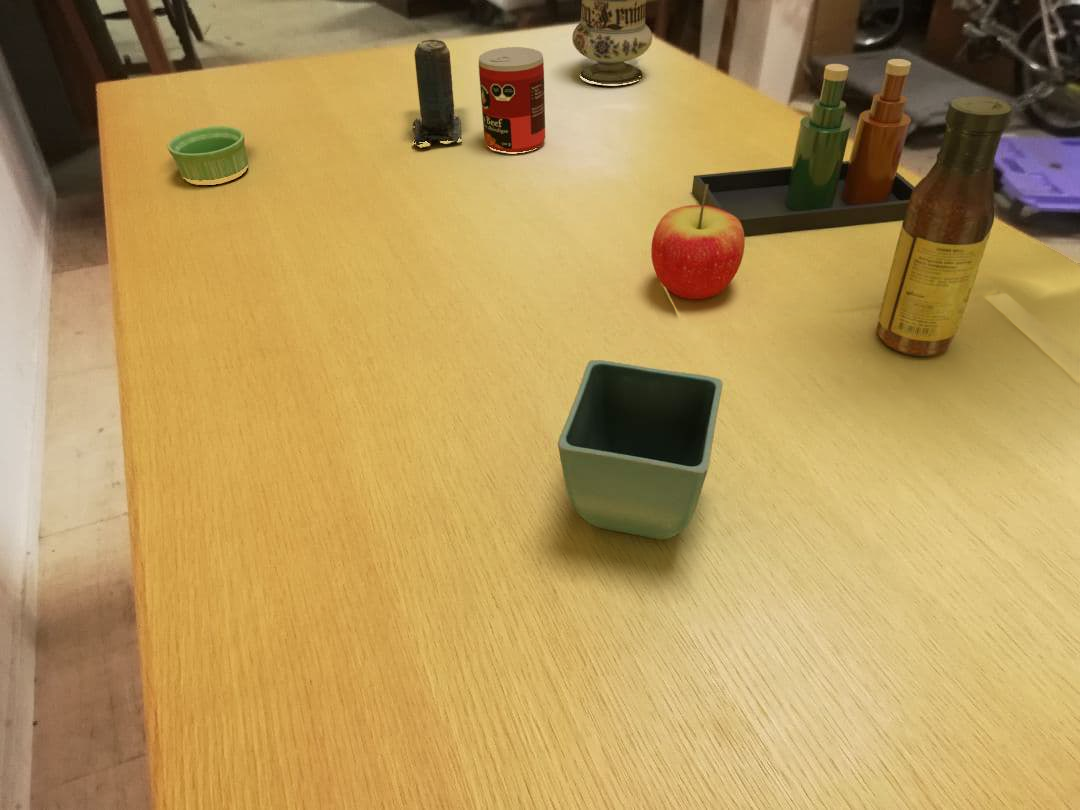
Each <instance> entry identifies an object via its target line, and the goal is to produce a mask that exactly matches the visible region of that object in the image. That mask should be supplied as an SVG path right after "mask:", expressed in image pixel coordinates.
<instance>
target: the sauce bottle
mask: <svg viewBox="0 0 1080 810" xmlns="http://www.w3.org/2000/svg"><path fill="white" fill-rule="evenodd" d="M1012 113H1013V109H1012V106H1011V105H1010V104H1009V103H1008V102H1006V101H1004V100H1003V99H998V98H994V97H988V96H980V95H979V96H978V95H977V96H976V95H974V96H973V95H972V96H970V95H969V96H960V97H957V98H955V99H953V100H952V101H950V103H949V105H948V109H947V112H946V115H945V117H944V119H945V131H944V134H943V138H942V142H941V145H940V149H939V151H938V152H937V154H936V161H935V163H934V164H933V166H932V167H931V168H930V169H929V171H928V173H926V176H924V177H923V178H922V179H921V180H920V181H918V183H917V184H916V185H915V186H914V187H915V188H914V189H913V191H912V194H911V197H910V200H909V205H908V210H907V213H906V217H905V219H904V220H903V221H902V223H901V227H900V231H899V236H898V239H897V243H896V247H895V251H894V254H893V259H892V263H891V268H890V271H889V275H888V278H887V282H886V286H885V290H884V292H883V293H884V294H883V298H882V301H881V304H880V310H879V313H878V322H877V326H876V332H877V335H878V337H879V338H880V339H881V341H882V342H883V343H884V344H885V345H886V346H887V347H888V348H890V349H893V350H894V351H896V352H899V353H902V354H905V355H907V356H912V357H913V356H914V357H915V356H916V357H923V358H924V357H930V356H936V355H939V354H942V353H943V352H945V351H947V350H948V349H949V347H950V345H951V343H952V341H953V339H954V337H955V335H956V333H957V332H958V330H959V327H960V326H961V325H960V324H961V322H962V319H963V316H964V313H965V310H966V307H967V304H968V302H969V298H970V295H971V292H972V289H973V286H974V283H975V280H976V277H977V274H978V272H979V267H980V266H981V265H980V264H981V261H982V259H983V257H984V253H985V250H986V246H987V243H988V240H989V238H990V235H991V231H992V228H993V225H994V221H995V187H994V185H995V184H994V181H995V180H994V165H995V158H996V155H997V151H998V148H999V145H1000V142H1001V139H1002V136H1003V133H1004V131H1006V129H1007V128H1008V127H1009V125H1010V122H1011V116H1012Z"/></svg>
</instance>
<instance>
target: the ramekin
mask: <svg viewBox="0 0 1080 810" xmlns="http://www.w3.org/2000/svg"><path fill="white" fill-rule="evenodd" d="M166 145H167V150H168V153H169V154H170V155H171V156H172V158H173V160H174V163H175V166H176V167H177V169H178V171H179V174H180V176H181V175H182V176H183V177H185V178H187V179H190V180H199V181H202V180H215V179H220V178H224V177H228V176H231V175H233V174H236V173H238V172H240V171H241V170H243V169H244V168H245V167H246V166H247V164H248V165H249V161H248V154H247V149H246V145H245V133H244V131H242V130H241V129H239V128H238V127H234V126H228V125H227V126H226V125H212V126H211V125H210V126H205V127H199V128H194V129H191V130H187V131H185V132H183V133H180V134H178V135H176V136H174V137H173V138H171V139H170V141H168V143H167V144H166ZM182 176H181V177H182Z"/></svg>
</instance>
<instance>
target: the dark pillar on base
mask: <svg viewBox="0 0 1080 810" xmlns="http://www.w3.org/2000/svg"><path fill="white" fill-rule="evenodd" d="M414 65H415V73H416V74H415V75H416V83H417V84H416V85H417V93H418V94H417V95H418V102H419V103H418V104H419V112H420V113H419V115H420V118H421V119H420V118H417V117H416V118H415V119H414V121H413V122H412V125H413V126H415V129H414V139H413V140H415V141H414V143H415V142H416V145H415V144H414V145H413V146H416V147H417V145H420V144H423V143H419V142H425V141H427V142H428V143H430V142H431V141H434V140H437V139H439V140H438V144H439V143H440V141H447V140H448V141H453V143H456V142H455V141H458V139H459V138H460V139H462V136H461V135H462V120H461V116H460V115H459V114H458V115H457V116H456V115H455V101H454V90H453V75H452V63H451V51H450V50H449V47H448V46H447V44H446V42H444V41H443V40H438V39H437V40H436V39H426V40H425V39H424V40H422V41H421V43H417V44H416V47H415V49H414ZM413 126H412V127H413ZM460 129H461V131H460ZM430 139H432V140H430ZM430 144H431V145H432V142H431V143H430Z"/></svg>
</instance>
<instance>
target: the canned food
mask: <svg viewBox="0 0 1080 810" xmlns="http://www.w3.org/2000/svg"><path fill="white" fill-rule="evenodd" d="M544 61H545V60H544V54H543V53H542V51H539V50H538V49H535V48H530V47H523V46H509V47H507V46H505V47H499V48H494V49H490V50H487V51H485V52H483V53H482V54H480V55H479V56H478V74H479V75H478V76H479V89H480V101H481V114H482V126H483V138H484V142H485V144H487V145H488V146H489V147H491V148H493V149H496V150H500V151H506V152H523V151H529V150H533V149H535V148H538V147H539V146H541V145H542V144H543V145H544V143H545V140H546V108H545V105H546V103H545V101H546V100H545V99H546V98H545V67H544V66H545V65H544V63H545V62H544ZM487 145H486V146H487ZM543 145H542V146H543ZM542 146H541V147H542Z"/></svg>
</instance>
